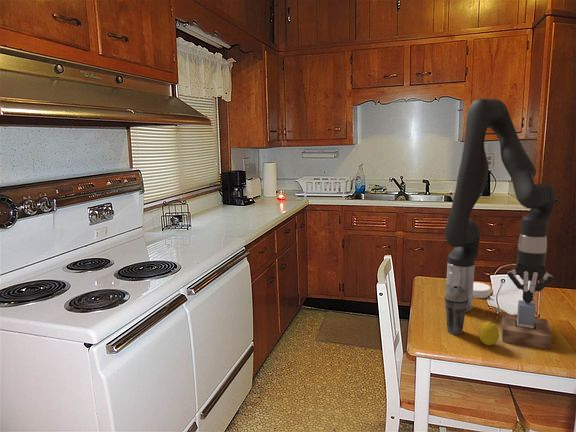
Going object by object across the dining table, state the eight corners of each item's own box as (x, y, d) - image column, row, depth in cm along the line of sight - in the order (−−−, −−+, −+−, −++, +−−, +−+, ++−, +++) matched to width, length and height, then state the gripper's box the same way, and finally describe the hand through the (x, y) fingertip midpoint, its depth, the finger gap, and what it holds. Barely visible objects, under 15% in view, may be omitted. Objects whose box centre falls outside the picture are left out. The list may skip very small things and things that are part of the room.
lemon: (474, 342, 132) (476, 318, 130) (491, 340, 132) (493, 317, 131) (484, 350, 126) (486, 326, 125) (501, 349, 127) (503, 324, 125)
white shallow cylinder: (490, 300, 164) (491, 291, 163) (462, 296, 168) (463, 288, 167) (490, 291, 172) (491, 283, 172) (464, 288, 177) (464, 280, 176)
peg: (516, 337, 134) (519, 305, 132) (515, 331, 138) (518, 300, 136) (532, 340, 132) (535, 307, 130) (531, 334, 136) (534, 302, 134)
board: (502, 341, 132) (503, 329, 131) (501, 324, 143) (501, 313, 142) (550, 349, 126) (552, 337, 125) (545, 330, 138) (546, 319, 137)
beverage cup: (438, 329, 141) (440, 272, 137) (454, 325, 144) (457, 268, 140) (454, 338, 134) (457, 279, 130) (471, 334, 137) (475, 275, 133)
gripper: (508, 250, 129) (504, 303, 132) (559, 254, 123) (553, 309, 126) (507, 244, 135) (503, 295, 139) (555, 247, 130) (550, 300, 133)
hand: (527, 302), depth 132 cm, fingers closed
